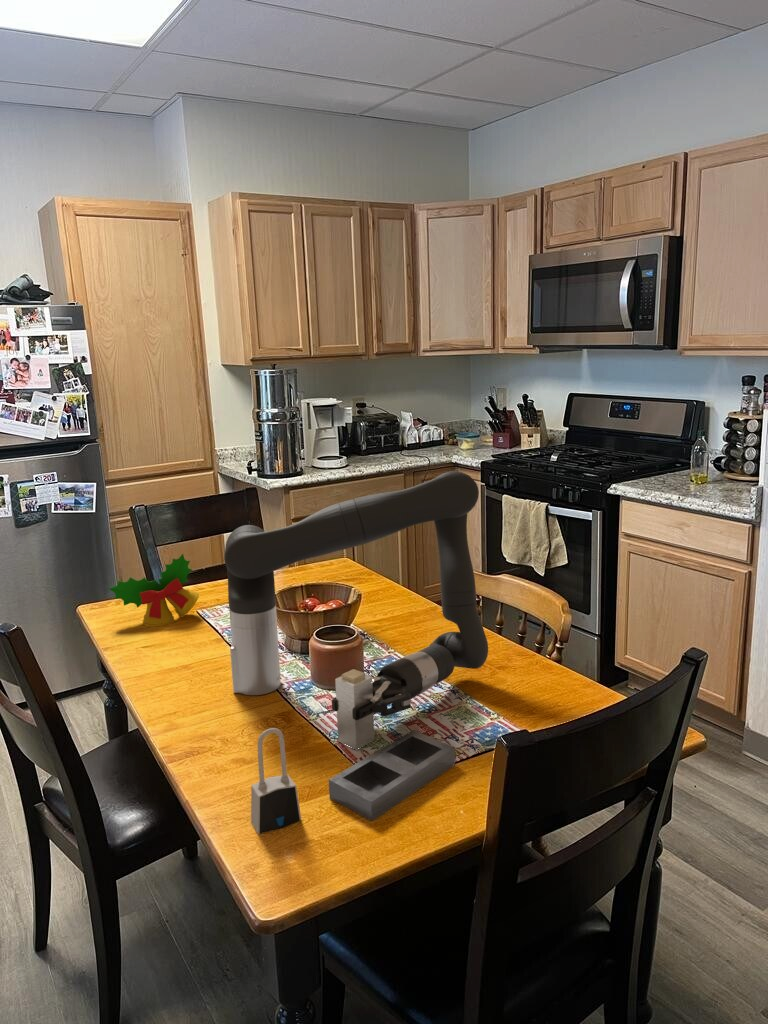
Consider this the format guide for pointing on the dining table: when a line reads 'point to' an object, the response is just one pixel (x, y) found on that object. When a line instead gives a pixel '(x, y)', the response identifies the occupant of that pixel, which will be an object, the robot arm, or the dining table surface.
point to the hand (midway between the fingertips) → (344, 710)
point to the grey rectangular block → (350, 694)
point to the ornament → (160, 594)
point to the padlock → (273, 794)
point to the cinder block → (391, 774)
